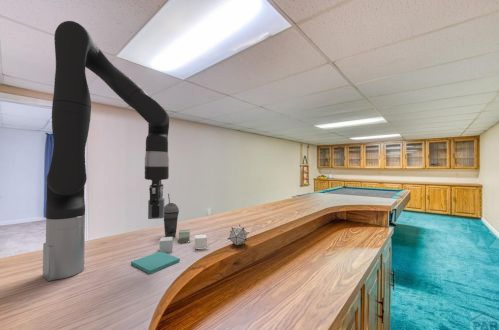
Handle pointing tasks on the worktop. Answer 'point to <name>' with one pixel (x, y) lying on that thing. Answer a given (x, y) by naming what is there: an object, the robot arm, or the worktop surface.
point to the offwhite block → (200, 241)
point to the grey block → (166, 244)
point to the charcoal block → (161, 209)
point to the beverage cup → (170, 219)
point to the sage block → (184, 235)
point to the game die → (238, 235)
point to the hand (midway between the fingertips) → (156, 215)
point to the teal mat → (155, 262)
